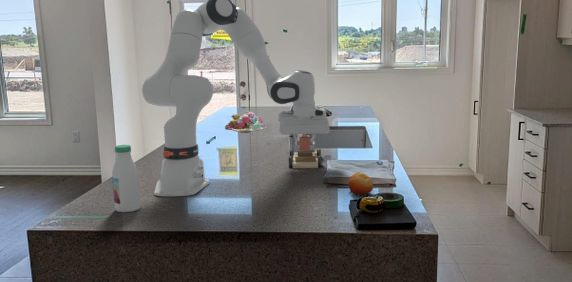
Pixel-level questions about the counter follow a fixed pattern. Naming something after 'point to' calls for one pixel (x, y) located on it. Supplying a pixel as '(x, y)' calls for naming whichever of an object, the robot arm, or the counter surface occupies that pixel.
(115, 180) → the milk bottle
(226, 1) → the robot arm
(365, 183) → the fruit
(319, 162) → the chassis
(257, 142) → the counter surface
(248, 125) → the candy plate
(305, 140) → the block
